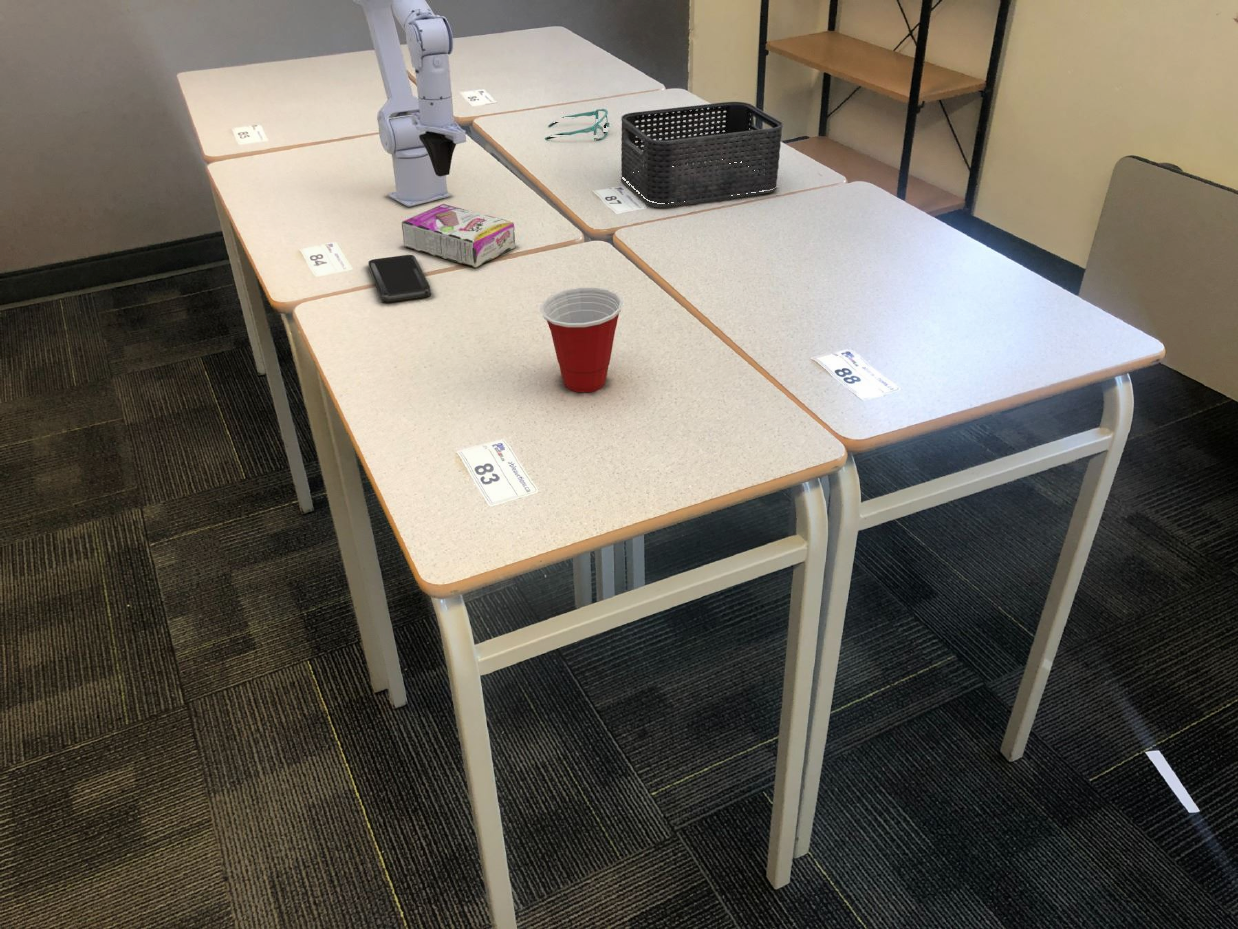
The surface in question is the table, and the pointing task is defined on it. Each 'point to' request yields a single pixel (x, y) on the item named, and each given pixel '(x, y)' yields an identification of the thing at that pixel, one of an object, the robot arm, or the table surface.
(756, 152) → the storage bin
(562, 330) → the plastic cup
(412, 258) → the phone
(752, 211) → the table surface
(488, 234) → the candy bar box
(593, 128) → the sunglasses
